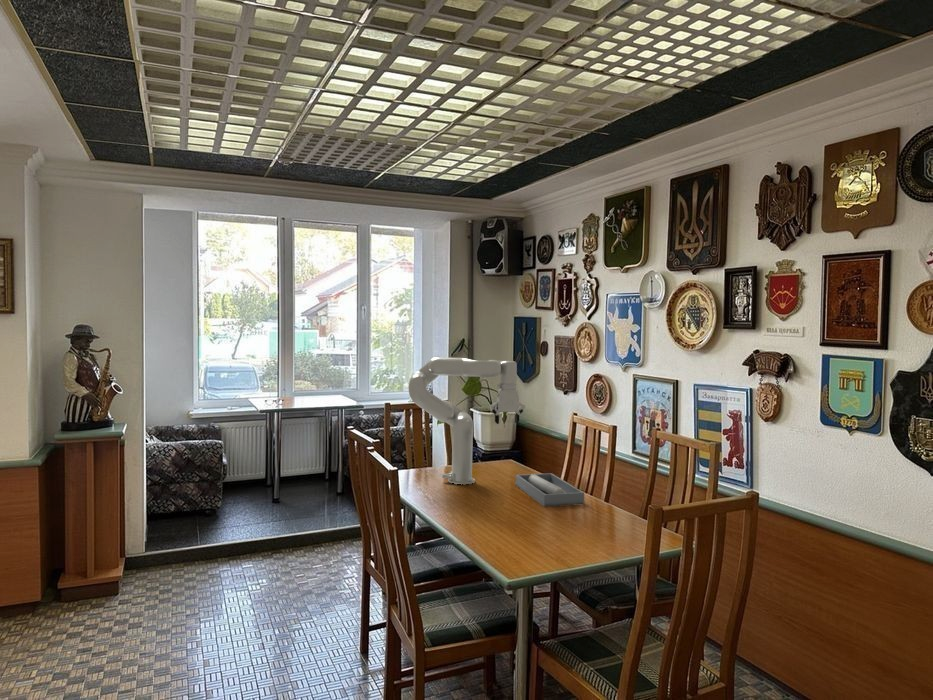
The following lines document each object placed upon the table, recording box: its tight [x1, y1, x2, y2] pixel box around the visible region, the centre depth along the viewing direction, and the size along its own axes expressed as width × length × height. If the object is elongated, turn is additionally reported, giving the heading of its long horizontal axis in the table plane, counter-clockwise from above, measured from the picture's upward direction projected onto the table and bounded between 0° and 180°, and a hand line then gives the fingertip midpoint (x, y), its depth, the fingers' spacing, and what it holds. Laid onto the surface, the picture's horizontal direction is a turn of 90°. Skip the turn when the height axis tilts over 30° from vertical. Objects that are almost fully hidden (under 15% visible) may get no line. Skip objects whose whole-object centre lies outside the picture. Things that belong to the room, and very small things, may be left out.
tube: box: [529, 473, 564, 494], centre depth 275 cm, size 5×5×25 cm
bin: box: [515, 472, 585, 508], centre depth 275 cm, size 18×34×5 cm, turn 16°
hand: (506, 423), depth 292 cm, fingers open, 9 cm apart
